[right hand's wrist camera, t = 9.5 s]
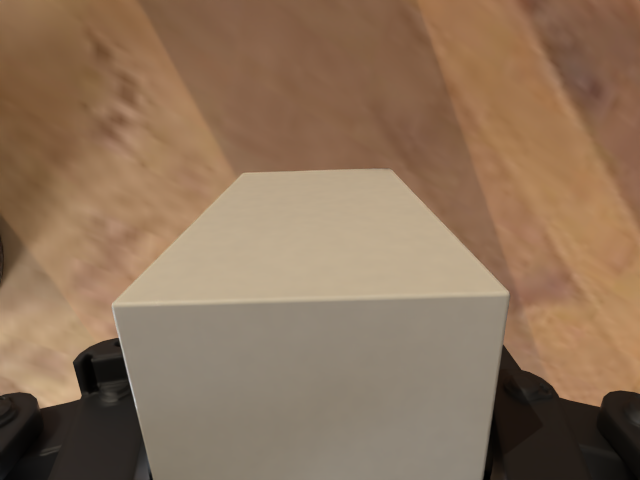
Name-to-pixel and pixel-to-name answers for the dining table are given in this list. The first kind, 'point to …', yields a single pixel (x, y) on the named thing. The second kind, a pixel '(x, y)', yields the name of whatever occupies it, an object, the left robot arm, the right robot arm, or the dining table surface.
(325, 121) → the dining table surface
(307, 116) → the dining table surface
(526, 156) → the dining table surface
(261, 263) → the beam
